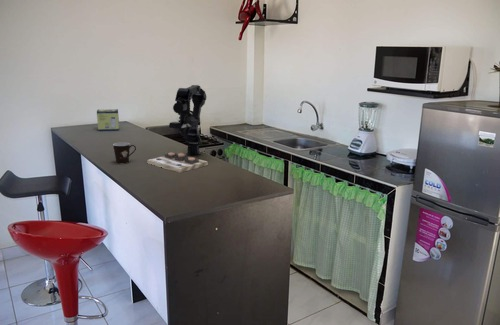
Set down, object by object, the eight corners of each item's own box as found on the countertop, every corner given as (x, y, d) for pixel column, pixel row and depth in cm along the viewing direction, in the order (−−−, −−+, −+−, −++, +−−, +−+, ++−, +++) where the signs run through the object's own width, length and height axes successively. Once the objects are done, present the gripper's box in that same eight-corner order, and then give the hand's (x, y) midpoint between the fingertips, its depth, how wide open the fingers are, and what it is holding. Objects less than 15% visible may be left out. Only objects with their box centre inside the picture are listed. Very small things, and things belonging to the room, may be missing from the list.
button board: (175, 157, 222) (174, 150, 221) (207, 165, 207) (207, 158, 206) (147, 163, 207) (146, 156, 206) (180, 172, 192) (179, 165, 191)
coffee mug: (113, 164, 203) (112, 146, 200) (114, 160, 211) (113, 142, 208) (136, 163, 206) (135, 145, 203) (136, 159, 214) (135, 142, 211)
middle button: (181, 156, 211) (181, 152, 210) (186, 157, 209) (186, 153, 208) (176, 157, 208) (176, 153, 207) (181, 158, 206) (181, 154, 205)
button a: (171, 155, 216) (171, 152, 215) (176, 156, 214) (176, 153, 213) (166, 156, 213) (166, 153, 212) (171, 157, 211) (171, 154, 210)
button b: (191, 160, 206) (191, 156, 206) (196, 161, 204) (196, 158, 204) (186, 161, 204) (186, 158, 203) (191, 162, 202) (191, 159, 201)
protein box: (98, 129, 302) (97, 109, 298) (119, 128, 306) (118, 109, 302) (97, 131, 292) (96, 111, 288) (119, 130, 297) (118, 110, 293)
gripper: (182, 114, 198) (183, 143, 202) (207, 111, 212) (207, 138, 216) (168, 112, 204) (168, 140, 208) (193, 109, 219) (193, 136, 223)
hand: (185, 139), depth 214 cm, fingers closed
